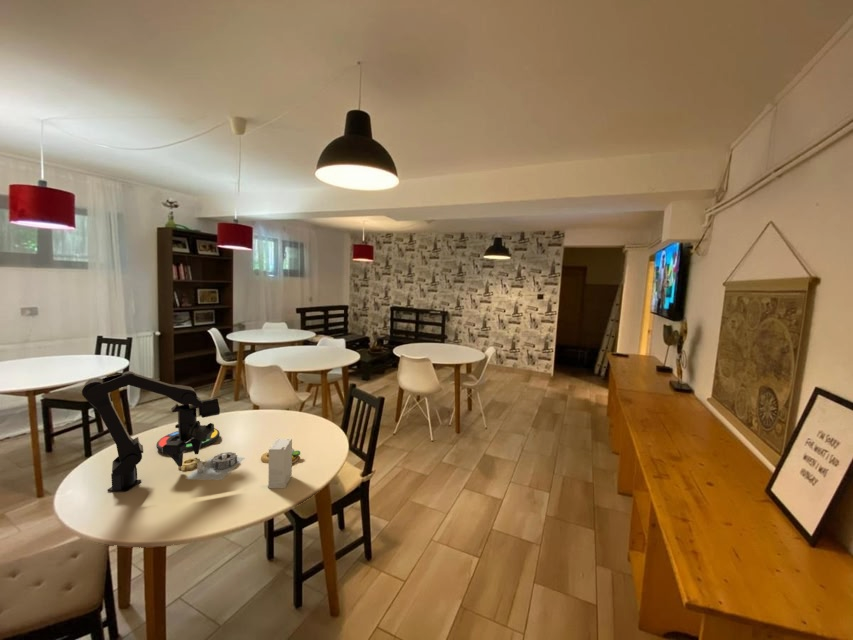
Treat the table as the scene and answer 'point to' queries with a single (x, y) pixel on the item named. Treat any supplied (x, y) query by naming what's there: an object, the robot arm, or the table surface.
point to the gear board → (211, 470)
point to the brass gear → (189, 464)
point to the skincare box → (280, 463)
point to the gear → (224, 461)
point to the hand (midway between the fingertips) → (188, 460)
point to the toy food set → (294, 456)
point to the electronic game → (189, 447)
